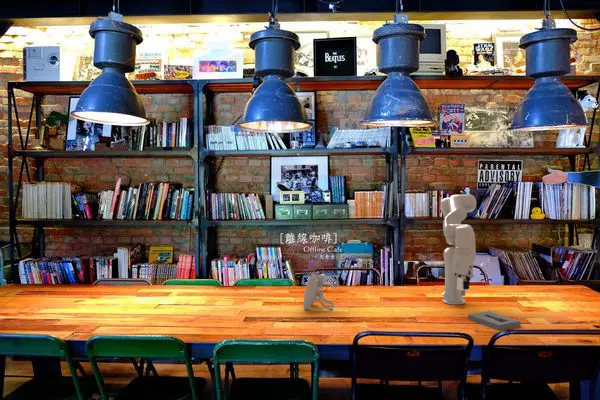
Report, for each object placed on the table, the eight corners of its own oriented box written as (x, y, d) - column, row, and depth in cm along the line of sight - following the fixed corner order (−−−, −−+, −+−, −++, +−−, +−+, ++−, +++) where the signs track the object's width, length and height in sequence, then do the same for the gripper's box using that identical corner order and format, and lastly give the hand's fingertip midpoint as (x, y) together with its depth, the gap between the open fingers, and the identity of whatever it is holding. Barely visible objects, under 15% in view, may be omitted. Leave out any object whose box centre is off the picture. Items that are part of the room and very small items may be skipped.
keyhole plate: (468, 319, 253) (468, 314, 253) (489, 315, 259) (489, 311, 259) (498, 330, 235) (498, 324, 235) (520, 326, 241) (520, 321, 241)
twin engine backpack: (331, 318, 269) (340, 282, 267) (297, 308, 272) (306, 273, 270) (335, 309, 286) (343, 276, 284) (304, 300, 289) (312, 267, 287)
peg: (456, 294, 249) (457, 277, 249) (463, 293, 251) (463, 276, 250) (462, 296, 246) (462, 278, 245) (468, 295, 247) (469, 278, 247)
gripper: (445, 249, 253) (445, 285, 254) (469, 254, 238) (469, 292, 239) (457, 248, 256) (457, 283, 257) (481, 253, 241) (481, 290, 242)
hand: (462, 287), depth 248 cm, fingers closed on peg, 4 cm apart
